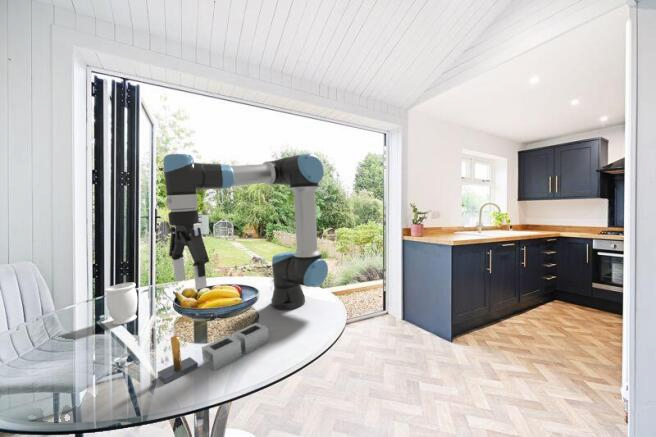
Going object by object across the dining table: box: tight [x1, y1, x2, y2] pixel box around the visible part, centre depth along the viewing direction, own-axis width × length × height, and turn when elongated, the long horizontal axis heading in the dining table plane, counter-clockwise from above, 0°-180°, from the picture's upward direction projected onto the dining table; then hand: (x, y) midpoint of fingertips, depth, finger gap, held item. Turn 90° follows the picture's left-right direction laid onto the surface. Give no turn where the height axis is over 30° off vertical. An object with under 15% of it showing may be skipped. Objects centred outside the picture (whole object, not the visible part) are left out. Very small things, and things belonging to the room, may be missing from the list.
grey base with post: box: [156, 335, 199, 385], centre depth 82 cm, size 9×5×10 cm, turn 140°
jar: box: [104, 282, 138, 326], centre depth 121 cm, size 11×10×15 cm
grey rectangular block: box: [201, 335, 243, 372], centre depth 87 cm, size 9×6×5 cm
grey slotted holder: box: [232, 322, 270, 355], centre depth 95 cm, size 9×6×5 cm
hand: (190, 284), depth 83 cm, fingers open, 13 cm apart
